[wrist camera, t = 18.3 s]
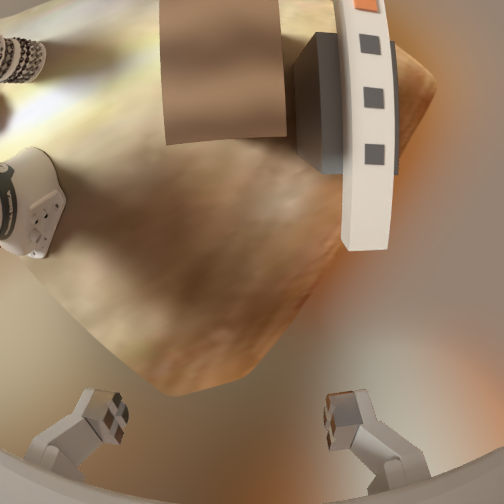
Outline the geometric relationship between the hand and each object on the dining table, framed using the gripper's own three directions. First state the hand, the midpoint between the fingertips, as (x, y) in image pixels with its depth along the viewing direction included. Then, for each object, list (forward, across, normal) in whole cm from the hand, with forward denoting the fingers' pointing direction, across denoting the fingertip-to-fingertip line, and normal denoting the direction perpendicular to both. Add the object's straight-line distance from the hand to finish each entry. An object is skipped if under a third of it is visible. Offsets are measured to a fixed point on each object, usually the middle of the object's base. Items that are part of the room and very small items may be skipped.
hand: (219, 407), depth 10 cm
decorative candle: (+39, +38, -29) cm, 62 cm away
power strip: (+21, -12, -11) cm, 27 cm away
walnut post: (+39, 0, -17) cm, 42 cm away
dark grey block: (+39, -12, -12) cm, 42 cm away
